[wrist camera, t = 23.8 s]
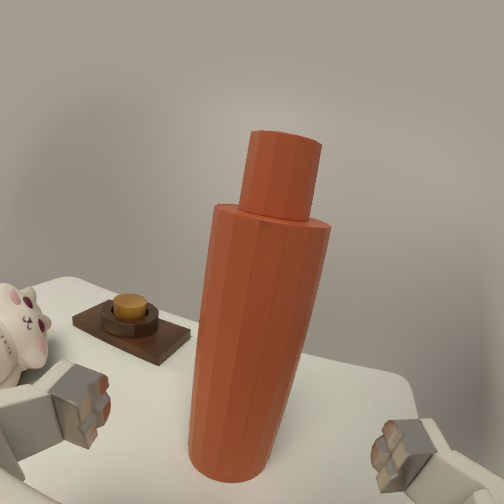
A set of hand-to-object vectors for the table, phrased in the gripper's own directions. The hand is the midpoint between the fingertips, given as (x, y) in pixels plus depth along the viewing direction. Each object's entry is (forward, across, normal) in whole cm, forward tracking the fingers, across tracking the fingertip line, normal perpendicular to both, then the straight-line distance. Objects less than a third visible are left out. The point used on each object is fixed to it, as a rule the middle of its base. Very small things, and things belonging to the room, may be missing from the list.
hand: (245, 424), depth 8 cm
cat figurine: (+10, +22, +14) cm, 28 cm away
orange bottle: (+10, 0, +13) cm, 17 cm away
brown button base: (+25, +14, +13) cm, 31 cm away
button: (+25, +14, +11) cm, 30 cm away
